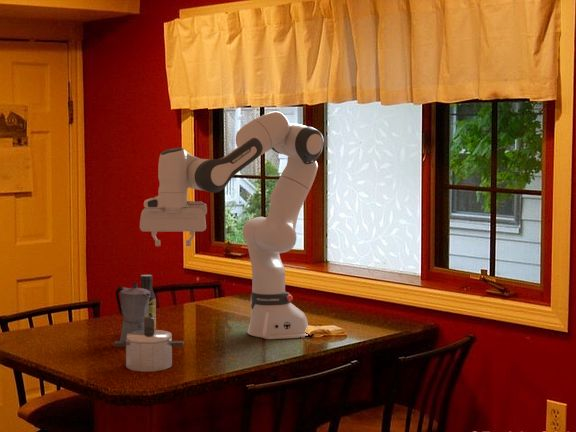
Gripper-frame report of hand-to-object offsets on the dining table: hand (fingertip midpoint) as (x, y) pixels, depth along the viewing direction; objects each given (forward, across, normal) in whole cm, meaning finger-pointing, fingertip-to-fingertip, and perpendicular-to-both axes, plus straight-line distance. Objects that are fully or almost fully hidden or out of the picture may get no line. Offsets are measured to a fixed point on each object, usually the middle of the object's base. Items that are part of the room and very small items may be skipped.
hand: (173, 245), depth 290 cm
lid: (+25, +6, +17) cm, 31 cm away
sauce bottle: (+33, +11, -24) cm, 42 cm away
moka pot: (+33, +14, -10) cm, 37 cm away
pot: (+33, +6, +17) cm, 38 cm away
